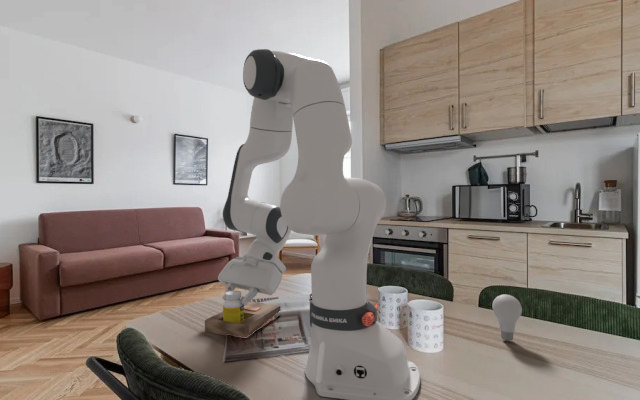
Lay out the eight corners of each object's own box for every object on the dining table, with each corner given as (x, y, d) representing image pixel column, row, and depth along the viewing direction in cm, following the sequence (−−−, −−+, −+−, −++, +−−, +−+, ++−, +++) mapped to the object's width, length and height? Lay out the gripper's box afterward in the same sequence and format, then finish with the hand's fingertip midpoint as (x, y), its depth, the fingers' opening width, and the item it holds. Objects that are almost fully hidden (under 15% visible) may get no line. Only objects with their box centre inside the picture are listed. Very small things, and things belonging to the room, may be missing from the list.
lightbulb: (525, 340, 79) (524, 294, 79) (518, 349, 75) (518, 300, 75) (496, 333, 83) (496, 289, 83) (489, 341, 79) (488, 295, 79)
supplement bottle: (243, 331, 88) (243, 294, 87) (222, 333, 87) (221, 296, 86) (244, 324, 93) (243, 289, 93) (224, 325, 92) (223, 290, 92)
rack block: (280, 315, 98) (280, 304, 98) (245, 339, 83) (245, 326, 83) (244, 310, 104) (244, 299, 104) (204, 331, 88) (204, 319, 88)
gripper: (228, 250, 101) (202, 290, 94) (280, 256, 90) (254, 302, 82) (240, 262, 105) (215, 301, 97) (291, 269, 94) (267, 315, 86)
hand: (233, 302), depth 90 cm, fingers closed on supplement bottle, 5 cm apart
